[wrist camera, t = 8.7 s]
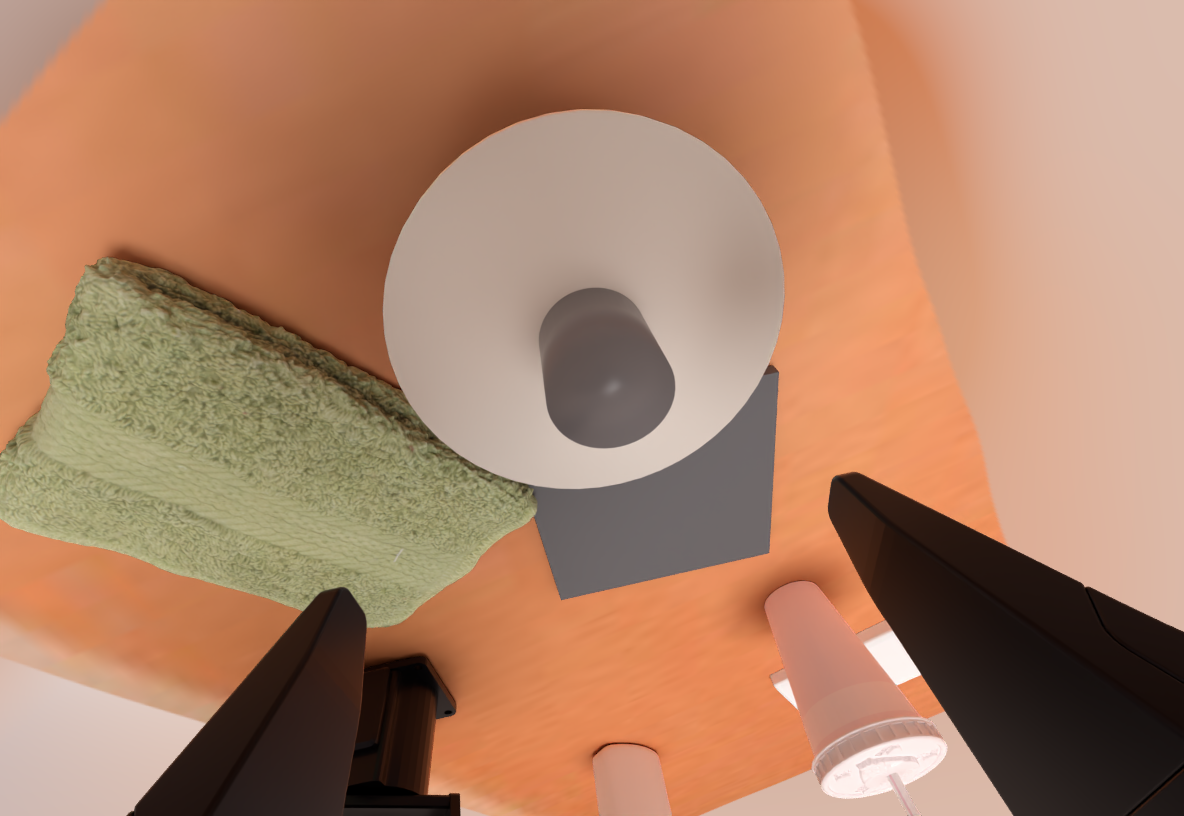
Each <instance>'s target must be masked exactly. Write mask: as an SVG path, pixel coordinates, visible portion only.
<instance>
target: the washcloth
mask: <svg viewBox="0 0 1184 816" xmlns="http://www.w3.org/2000/svg"><path fill="white" fill-rule="evenodd" d="M65 325H66V333H65V336H64V339H62V340H61V341H60V342H59V344H57V346H56V348H55V350H54V351H53V353H52V356H51V358H50V359H49V360H48V361H47V362H48V367H47V369H46V370H47V373H48V375H49V378H50V384H51V386H50V387H49V389H48V391H47V394H46V396H45V398H44V401H43V403H42V405H41V409H40V411H39V412H38V413H36V414H34V415H33V416H31V417H30V418H29V419H28V421H27V422H26V423H25V425H24V426H21V427H20V428H19V431H18V432H17V434H16V437H14V438H13V439H12V440H11V441H9V443H8V444H7V445H6V449H5V450H3V451H2V452H1V453H0V519H1V520H3V521H5V522H6V523H8V524H9V525H10V526H11V527H14V528H17V529H21V530H24V531H26V532H30V533H34V534H37V535H41V536H45V537H48V538H52V539H57V540H61V541H64V542H70V543H75V544H80V545H84V546H95V547H99V548H103V549H107V550H112V551H116V552H119V553H122V554H127V555H129V556H132V557H135V558H137V559H140V560H142V561H145V562H148V563H151V564H152V565H154V566H156V567H158V568H160V569H163V570H165V571H168V572H171V573H174V574H177V575H181V576H186V577H191V578H196V579H200V580H203V581H205V582H209V583H214V584H217V585H220V586H224V587H227V588H231V589H235V590H239V591H243V592H246V593H250V594H254V595H257V596H260V597H264V598H268V599H271V600H273V601H276V602H278V603H281V604H283V605H286V606H289V607H292V608H296V609H299V610H301V611H304V610H305V609H306V607H307V606H308V605H309V604H310V603H311V602H312V600H313V599H314V598H315V597H316V596H317V595H318V594H319V593H320V592H322V591H324V590H328V589H333V588H337V587H346V588H348V590H349V591H350V592H351V594H352V595H353V596H354V598H355V599H356V601H357V602H358V604H359V605H360V607H361V608H362V610H363V611H364V613H365V616H366V620H367V628H374V627H389V626H392V625H396V624H399V623H401V622H403V621H404V620H406V619H407V618H408V617H409V616H410V615H412V614H413V613H414V611H415V610H416V609H417V608H418V607H419V606H421V605H422V604H423V603H425V602H426V601H427V600H429V599H430V598H431V597H434V596H435V595H436V594H437V593H438V592H439V591H442V590H443V589H444V588H445V587H446V586H448V585H450V584H452V583H454V582H456V581H457V580H459V579H460V578H462V577H463V576H465V575H466V574H467V573H469V572H470V571H471V570H472V569H473V568H474V566H475V565H476V563H477V561H478V560H479V558H480V556H481V555H483V554H484V553H485V552H486V551H487V549H488V548H490V547H491V546H492V545H493V544H494V543H495V542H497V541H498V540H499V539H501V538H502V537H503V536H504V535H506V534H508V533H509V532H511V531H513V530H515V529H518V528H520V527H522V526H523V525H525V524H526V523H528V522H529V521H530V519H531V518H532V517H533V516H534V515H535V514H536V512H537V500H536V498H535V496H534V495H532V493H533V490H534V489H533V488H529V486H528V485H527V484H525V483H521V482H517V481H513V480H510V479H508V478H505V477H502V476H499V475H496V474H494V473H492V472H489V471H487V470H485V469H483V468H481V467H479V466H477V465H475V464H473V463H472V462H470V461H468V460H467V459H465V458H464V457H462V456H461V455H459V454H457V453H456V452H455V451H453V450H452V449H451V448H450V447H449V446H447V445H446V444H445V443H444V442H442V441H441V440H440V439H439V438H438V437H437V436H436V435H435V434H434V433H433V432H432V431H431V430H430V429H429V428H428V427H427V426H426V425H425V424H424V423H423V421H422V420H421V418H420V417H419V416H418V414H417V413H416V412H415V410H414V409H413V408H412V406H411V405H410V403H409V402H408V400H407V398H406V396H405V394H404V392H403V391H401V390H399V389H395V388H393V387H392V386H391V385H389V384H387V383H386V382H385V381H383V380H378V379H377V378H376V377H375V376H370V375H369V374H368V373H367V372H364V371H362V370H360V369H359V368H357V367H354V366H350V367H348V366H347V364H346V363H345V362H344V361H342V360H338V359H337V358H335V357H334V356H333V355H332V354H331V353H330V352H328V351H326V350H322V349H319V350H318V349H316V348H314V347H313V346H312V345H311V344H310V343H308V342H306V341H302V339H301V337H300V336H298V335H296V334H293V333H290V332H287V331H285V330H284V328H283V327H282V326H281V327H275V326H270V325H269V324H268V323H267V322H265V321H262V320H261V319H260V317H259V316H253V315H251V314H249V313H248V312H247V311H245V310H239V309H237V308H235V306H234V305H233V304H232V303H231V302H230V301H227V300H225V299H224V298H221V297H218V296H217V295H215V294H213V295H211V294H209V293H208V292H206V291H203V290H200V289H199V288H197V287H193V286H191V285H189V284H188V282H187V281H186V280H185V279H183V278H182V277H180V276H178V275H174V274H172V273H171V272H169V271H167V270H164V269H161V268H150V267H147V266H144V265H141V264H138V263H134V262H130V261H126V260H119V259H117V258H112V257H106V258H101V259H99V260H97V264H95V265H92V266H89V265H85V273H84V275H83V276H82V277H81V279H80V282H79V284H78V285H77V286H76V289H75V297H74V300H73V301H72V303H71V304H70V306H69V310H68V314H67V318H66V324H65Z"/></svg>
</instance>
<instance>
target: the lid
mask: <svg viewBox="0 0 1184 816" xmlns="http://www.w3.org/2000/svg"><path fill="white" fill-rule="evenodd" d="M784 298H785V295H784V270H783V264H782V258H781V252H780V247H779V244H778V241H777V238H776V235H775V231H774V228H773V225H772V223H771V221H770V219H769V217H768V215H767V213H766V211H765V209H764V207H763V205H762V203H761V201H760V199H759V198H758V196H757V195H756V194H755V192H754V191H753V189H752V188H751V186H750V185H749V184H748V182H747V181H746V179H745V178H744V177H743V176H742V175H741V174H740V173H739V172H738V171H737V170H736V169H735V168H734V167H733V166H732V165H731V164H730V163H729V162H728V161H727V160H726V159H725V158H724V157H723V156H721V155H720V154H719V153H717V152H716V151H715V150H713V149H712V148H711V147H709V146H708V145H707V144H705V143H704V142H703V141H701V140H699V139H697V138H695V137H694V136H692V135H690V134H688V133H686V132H684V131H682V130H680V129H678V128H676V127H674V126H671V125H668V124H665V123H662V122H659V121H656V120H653V119H650V118H647V117H644V116H641V115H637V114H631V113H626V112H620V111H614V110H602V109H575V110H568V111H560V112H553V113H547V114H543V115H540V116H536V117H533V118H529V119H526V120H523V121H519V122H517V123H514V124H512V125H510V126H508V127H506V128H504V129H501V130H499V131H497V132H495V133H493V134H491V135H489V136H487V137H486V138H484V139H483V140H481V141H480V142H478V143H477V144H475V145H474V146H472V147H471V148H469V149H468V150H466V151H465V152H463V153H462V154H461V155H460V156H459V157H458V158H457V159H456V160H454V161H453V162H452V163H451V164H450V165H449V166H448V167H447V168H446V169H445V170H443V171H442V172H441V173H440V175H439V176H438V177H437V178H436V179H435V181H434V182H433V183H432V184H431V186H430V187H429V188H428V189H427V190H426V192H425V193H424V194H423V195H422V197H421V198H420V200H419V201H418V203H417V204H416V206H415V208H414V209H413V211H412V213H411V214H410V216H409V218H408V219H407V221H406V223H405V225H404V226H403V228H402V230H401V233H400V235H399V238H398V240H397V243H396V245H395V248H394V250H393V252H392V255H391V259H390V263H389V267H388V272H387V276H386V280H385V288H384V300H383V321H384V336H385V340H386V345H387V349H388V354H389V359H390V362H391V365H392V367H393V370H394V373H395V375H396V378H397V381H398V383H399V385H400V387H401V389H402V391H403V392H404V394H405V396H406V398H407V400H408V402H409V403H410V405H411V406H412V408H413V409H414V410H415V412H416V413H417V414H418V416H419V417H420V418H421V420H422V421H423V423H424V424H425V425H426V426H427V427H428V428H429V429H430V430H431V431H432V432H433V433H434V434H435V435H436V436H437V437H438V438H439V439H440V440H441V441H442V442H444V443H445V444H446V445H447V446H449V447H450V448H451V449H452V450H453V451H455V452H456V453H457V454H459V455H461V456H462V457H464V458H465V459H467V460H468V461H470V462H472V463H473V464H475V465H477V466H479V467H481V468H483V469H485V470H487V471H489V472H492V473H494V474H496V475H499V476H502V477H505V478H508V479H510V480H513V481H517V482H521V483H525V484H530V485H534V486H540V487H549V488H557V489H585V488H598V487H604V486H610V485H616V484H621V483H625V482H628V481H632V480H635V479H639V478H642V477H645V476H647V475H650V474H652V473H655V472H658V471H660V470H662V469H664V468H666V467H668V466H670V465H672V464H674V463H676V462H678V461H680V460H682V459H683V458H685V457H686V456H688V455H690V454H691V453H693V452H694V451H696V450H698V449H699V448H700V447H701V446H703V445H704V444H705V443H707V442H708V441H709V440H710V439H712V438H713V437H714V436H716V435H717V434H718V433H719V432H720V431H721V430H722V429H723V428H724V427H725V426H726V425H727V424H728V423H729V422H730V421H731V420H732V419H733V418H734V416H735V415H736V414H737V413H738V412H739V411H740V409H741V408H742V407H743V406H744V405H745V403H746V402H747V400H748V399H749V397H750V396H751V394H752V393H753V391H754V390H755V389H756V387H757V386H758V384H759V382H760V380H761V378H762V376H763V374H764V372H765V370H766V368H767V366H768V364H769V362H770V359H771V356H772V354H773V351H774V348H775V346H776V343H777V339H778V335H779V331H780V327H781V323H782V316H783V307H784Z"/></svg>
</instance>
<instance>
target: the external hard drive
mask: <svg viewBox="0 0 1184 816" xmlns="http://www.w3.org/2000/svg"><path fill="white" fill-rule="evenodd" d="M856 635H857V636H858V637H859V639H860V640H861V641H862V643H863V644H864V645H865V646H866V648H867V649H868V650H869V651H870V653H871V654H872V655H873V656H874V658H875V659H876V660H877V661H878V663H879V664H880V665H881V667H882V668H883V669H884V670H885V672H886V673H887V674H888V675H889V677H890V678H891V679H892V680H893V682H894V683H895V684H896V685H899V684H901V683H904V682H906V681H908V680H910V679H913V678H915V677H917V676H919V675H921V673H920V672H919V670H918V669H917V667H916V666H915V664H914V663H913V661H912V660H911V658H910V657H909V655H908V654H907V652H906V651H905V649H904V647H903V646H902V644H901V643H900V641H899V640H898V638H897V637H896V635H895V634H894V632H893V631H892V629H891V628H890V626H889V624H888V623H887V621H886V620H884V621H882V622H880V623H878V624H876V625H874V626H872V627H869V628H867V629H865V630H863V631H861V632H859V633H857V634H856ZM770 678H771V680H772V682H773V685H774V687H775V688H776V689H777V690H778V691H779V692H780V693H781V694H782V695H783V696H784V697H785V698H786V699H787V700H788V701H789V702H790V703H791V704H793V705H794V706H795V707H796V708H797V709H798V707H797V704H796V701H795V698H794V695H793V692H792V689H791V686H790V683H789V680H788V677H787V674H786V671H785V668H784V669H782V670H779V671H777V672H775V673H773V674H771V675H770Z"/></svg>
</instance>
